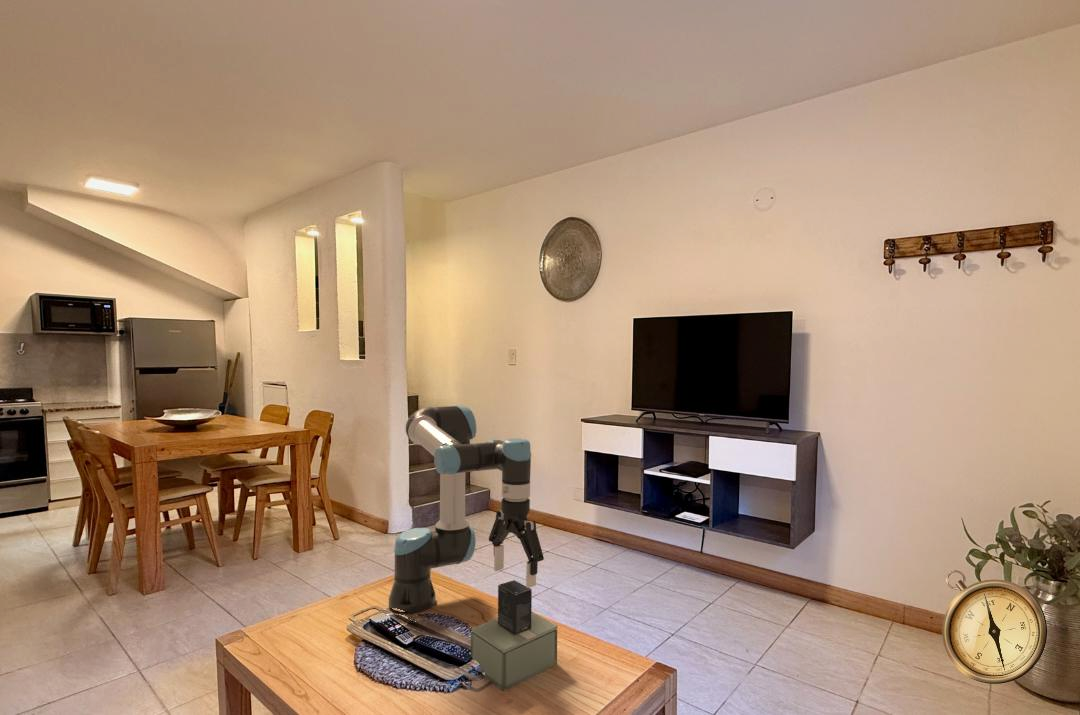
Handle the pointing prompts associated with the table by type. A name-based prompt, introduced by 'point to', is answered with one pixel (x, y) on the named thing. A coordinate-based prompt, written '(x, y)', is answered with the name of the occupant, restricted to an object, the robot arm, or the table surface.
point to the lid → (510, 641)
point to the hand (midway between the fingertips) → (514, 577)
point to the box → (514, 607)
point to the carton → (514, 659)
